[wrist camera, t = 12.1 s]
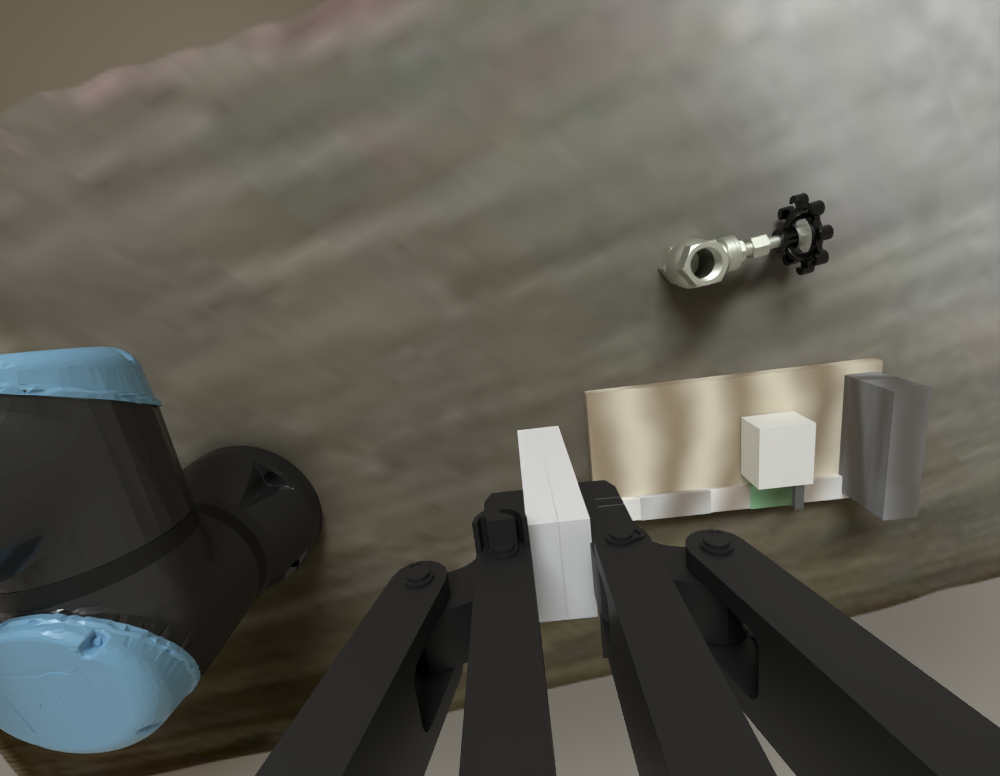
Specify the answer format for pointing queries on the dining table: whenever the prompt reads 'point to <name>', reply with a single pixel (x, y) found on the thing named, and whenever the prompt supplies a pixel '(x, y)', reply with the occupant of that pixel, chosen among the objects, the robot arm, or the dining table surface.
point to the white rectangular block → (779, 452)
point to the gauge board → (717, 439)
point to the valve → (750, 248)
